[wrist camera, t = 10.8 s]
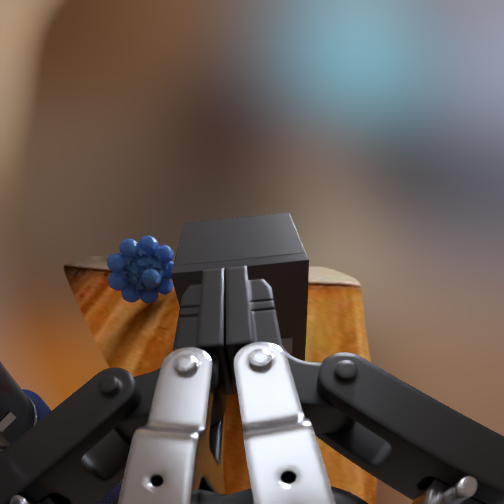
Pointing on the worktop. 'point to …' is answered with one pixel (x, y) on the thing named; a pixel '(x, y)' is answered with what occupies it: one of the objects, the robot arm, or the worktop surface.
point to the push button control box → (252, 264)
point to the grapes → (141, 269)
